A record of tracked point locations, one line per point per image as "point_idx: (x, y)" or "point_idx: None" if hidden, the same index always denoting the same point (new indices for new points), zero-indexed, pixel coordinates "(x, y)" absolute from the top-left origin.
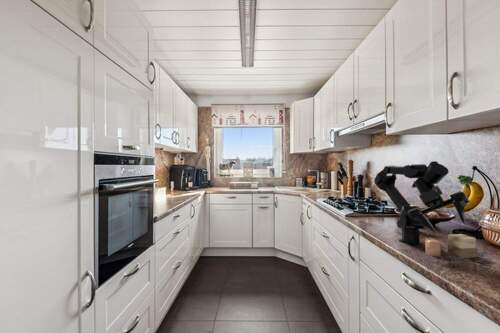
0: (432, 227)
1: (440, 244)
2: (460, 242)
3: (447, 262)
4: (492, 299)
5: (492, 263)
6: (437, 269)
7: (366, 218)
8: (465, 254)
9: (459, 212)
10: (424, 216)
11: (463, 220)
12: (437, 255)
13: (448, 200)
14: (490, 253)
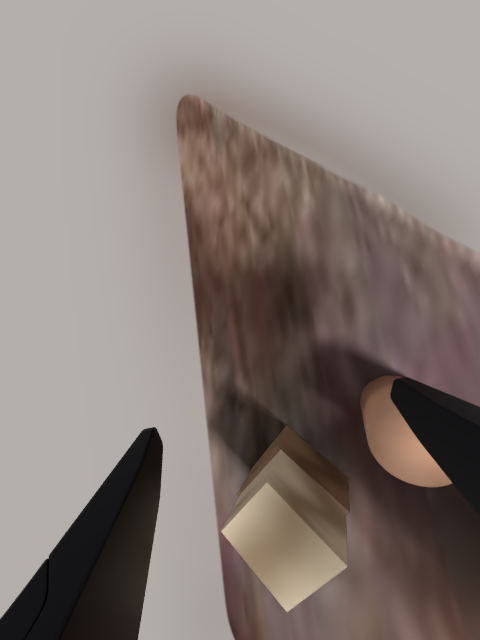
0: (441, 414)
1: (365, 430)
2: (277, 471)
3: (316, 327)
4: (180, 124)
5: (212, 419)
6: (324, 211)
7: None
8: (275, 441)
9: (65, 570)
10: None
11: (132, 446)
12: (368, 384)
13: None
14: None
